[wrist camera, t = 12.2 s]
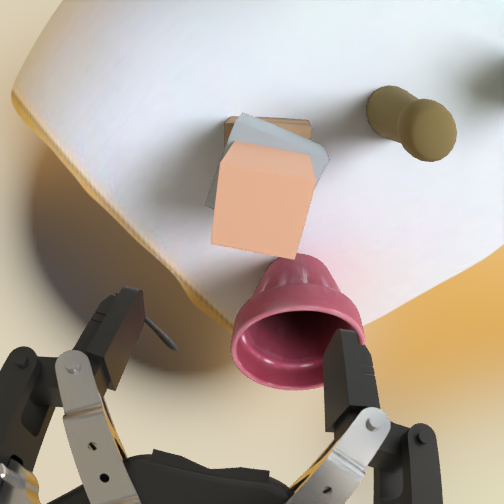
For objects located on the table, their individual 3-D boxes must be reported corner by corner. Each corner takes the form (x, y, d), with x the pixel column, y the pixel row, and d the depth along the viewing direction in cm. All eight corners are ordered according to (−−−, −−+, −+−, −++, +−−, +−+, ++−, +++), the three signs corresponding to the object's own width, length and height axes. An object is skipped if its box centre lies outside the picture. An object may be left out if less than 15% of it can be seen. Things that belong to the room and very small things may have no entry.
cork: (356, 121, 30) (387, 147, 21) (381, 75, 26) (424, 81, 17) (401, 148, 31) (443, 185, 21) (426, 105, 27) (478, 126, 18)
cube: (234, 140, 24) (220, 162, 19) (309, 155, 24) (316, 181, 19) (225, 207, 27) (210, 243, 22) (293, 220, 27) (294, 259, 22)
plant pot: (321, 215, 36) (335, 285, 26) (364, 295, 42) (381, 368, 31) (223, 264, 41) (202, 337, 31) (276, 329, 47) (272, 401, 37)
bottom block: (232, 116, 31) (224, 123, 27) (308, 119, 30) (311, 127, 27) (232, 184, 35) (225, 200, 32) (302, 189, 35) (304, 205, 31)
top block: (242, 112, 27) (235, 120, 23) (323, 146, 28) (329, 159, 24) (215, 186, 31) (204, 205, 27) (288, 215, 32) (289, 237, 28)
